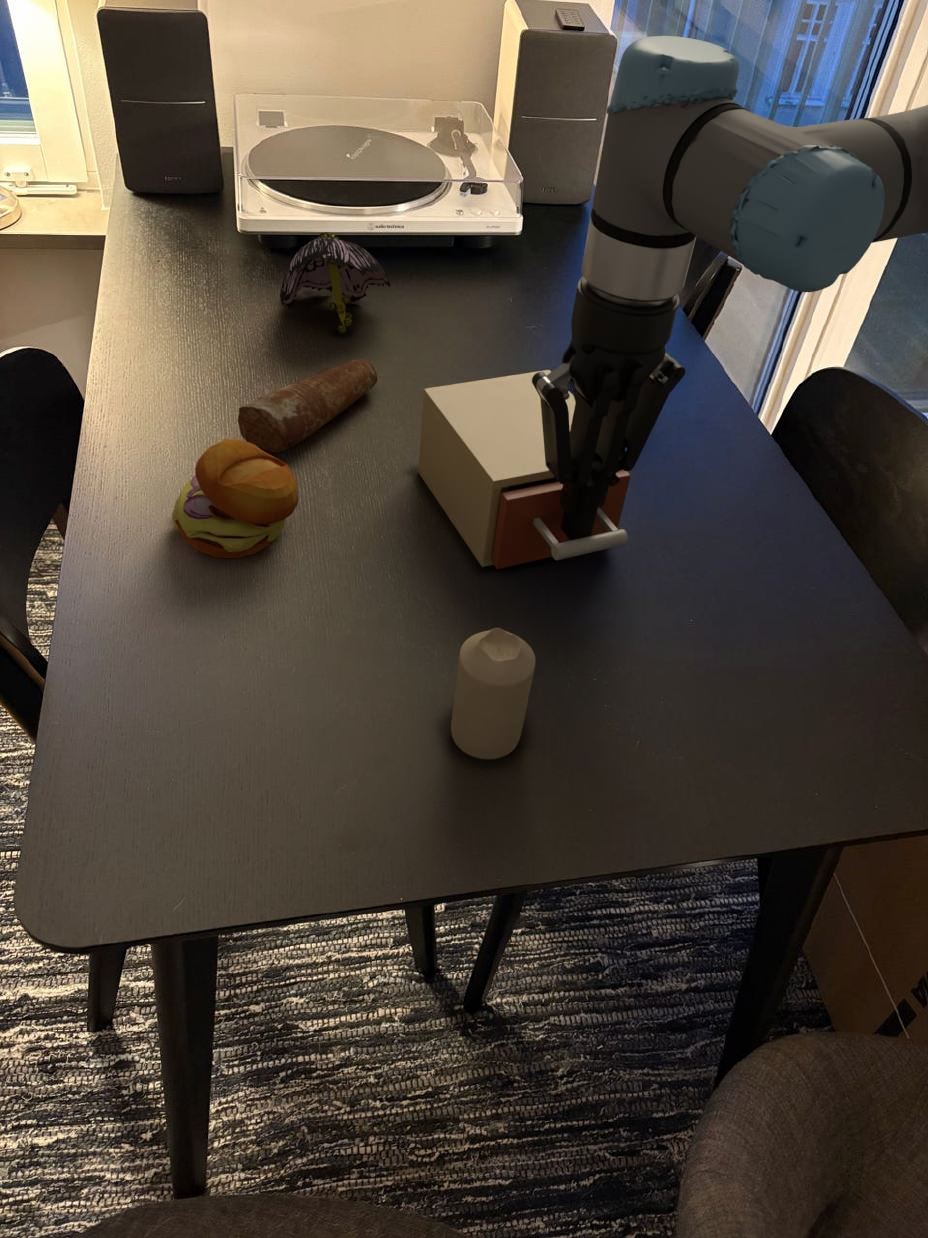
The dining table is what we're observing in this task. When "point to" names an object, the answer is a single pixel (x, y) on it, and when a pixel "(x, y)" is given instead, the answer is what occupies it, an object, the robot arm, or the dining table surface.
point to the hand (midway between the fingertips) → (574, 535)
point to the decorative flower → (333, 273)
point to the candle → (491, 693)
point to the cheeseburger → (235, 500)
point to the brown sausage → (304, 406)
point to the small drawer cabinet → (482, 450)
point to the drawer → (551, 523)
